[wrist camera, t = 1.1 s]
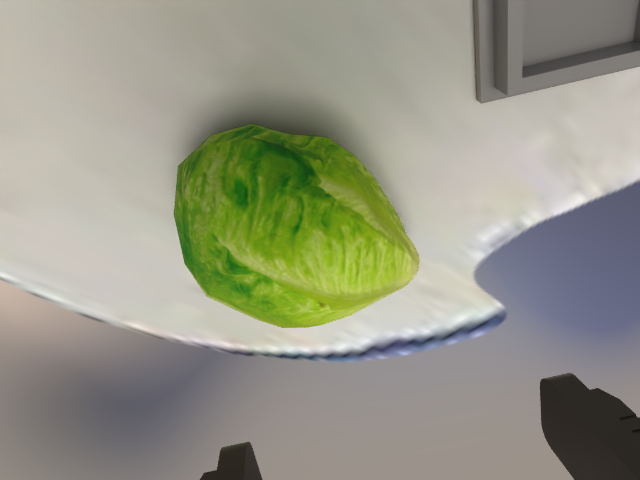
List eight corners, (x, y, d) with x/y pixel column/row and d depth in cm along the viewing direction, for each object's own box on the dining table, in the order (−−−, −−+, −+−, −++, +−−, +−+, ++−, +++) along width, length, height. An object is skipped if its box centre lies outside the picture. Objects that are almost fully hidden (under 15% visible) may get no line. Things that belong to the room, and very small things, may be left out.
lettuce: (349, 300, 45) (368, 415, 34) (158, 215, 39) (101, 322, 28) (445, 179, 39) (508, 273, 27) (231, 54, 32) (197, 108, 21)
